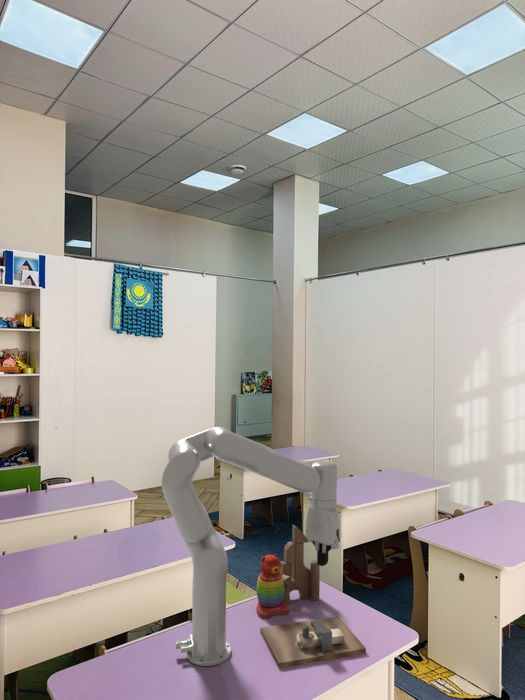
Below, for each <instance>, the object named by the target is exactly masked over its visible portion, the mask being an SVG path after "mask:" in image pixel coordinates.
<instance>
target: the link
mask: <svg viewBox="0 0 525 700" xmlns="http://www.w3.org/2000/svg"><path fill="white" fill-rule="evenodd" d="M330 630H331V631H332V644H338V643H344V635H343V633H342V632H341V630H340V629H339V628H338V629H330ZM297 645H298V646H299V647H301V648H311V647H315V646H319V636H318V634H317V633H316V632H315V631H313V632H309V627H308V626H303V628H302V632H300V633H297Z"/></svg>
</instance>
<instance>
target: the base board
mask: <svg viewBox="0 0 525 700" xmlns="http://www.w3.org/2000/svg"><path fill="white" fill-rule="evenodd" d="M315 620H321V621H322V622H323V624H324V625H325V626H326V628H327V629H328V628H329V629H338V628H339V629H340V630H341V632H342V633H343V635H344V643H338V644H332V652H328V653H321V651H320V650H319V646H315V647H311V648H301V647H299V646H298V645H297V633H300V632H302V628H303V626H308V627H309V632H313V631H315V630H314V629H313V627H312V626H311V621H315ZM259 629H260V630H259V632H260V636H262V638H263V640H264V643H265V644H266V647H267V649H268V650H269V653H270V654H271V656H272V659H273V660H274V662H275V664H276V666H277V668H278V669H279V670H281V669H286V668H291V667H296V666H303V665H309V664H314V663H320V662H324V661H325V662H326V661H332V660H337V659H342V658H349V657H355V656H360V654H361V655H365V654H367V648H366V647H365V645H364V644H363V643H362V642H361V641H360V639H359V638H358V637H357V636H356V635H355V634H354V632H353V631H352V630H351V629H350V628H349V627H348V626H347V624H346V623H345V622H344V621H343V619H342V618H341V617H340V616H338V615H336V616H335V615H334V616H330V617H324V618H323V617H322V618H316V619H310V620H309V619H308V620H303V621H295V622H288V623H282V624H276V625H270V626H262V627H259Z"/></svg>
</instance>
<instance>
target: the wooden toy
mask: <svg viewBox="0 0 525 700" xmlns="http://www.w3.org/2000/svg"><path fill="white" fill-rule="evenodd" d="M291 533H292V535H291V536H292V537H291V538H292V539H291V540H292V541H288V542H287V543H286V544H285V545H284V547H283V560H280V563H281V569H280V571H279V572H280V573H281V576H282V579H283V583H284V596H283V602H285V603H286V604H287V605H288V606H290V603H291V601H290V600H291V599H290V598H291V597H290V595H291V592H293V591H298V594H299V596H301V597H302V598H304V599H305V598H310V600H312V601H318V600H320V581H321V580H320V575H321V574H320V572H321V571H320V568H321V566H320V565H317V559H315V560H310V567H308V566H305V564H304V560H305V559H304V552H305V551H304V550H305V546H304V545H305V544H304V543H311V542H310V541H308V539H307V538H306V535H305V533H304V532H302V531H301V530H300V529H299V528H298V526H296V525H294V524H292V531H291Z"/></svg>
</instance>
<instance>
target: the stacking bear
mask: <svg viewBox="0 0 525 700" xmlns="http://www.w3.org/2000/svg"><path fill="white" fill-rule="evenodd" d="M280 561H281V560H280V559H279V554H278V553H274V554H266V555H264V556H262V557H261V559H260V570H261V572H260V573H259V575H258V577H257V581H256V590H255V591H256V592H255V593H256V596H257V601H258V602H257V604H256V613H257V615H258V616H259V618H261V619H270V618H271V617H272V616H276V615H288V614H290V612H291V609H290V607H289V606H290V605H287V604H286V603H285V602H283V596H284V583H283V579H282V576H281V573H280V569H281V563H280Z"/></svg>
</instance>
